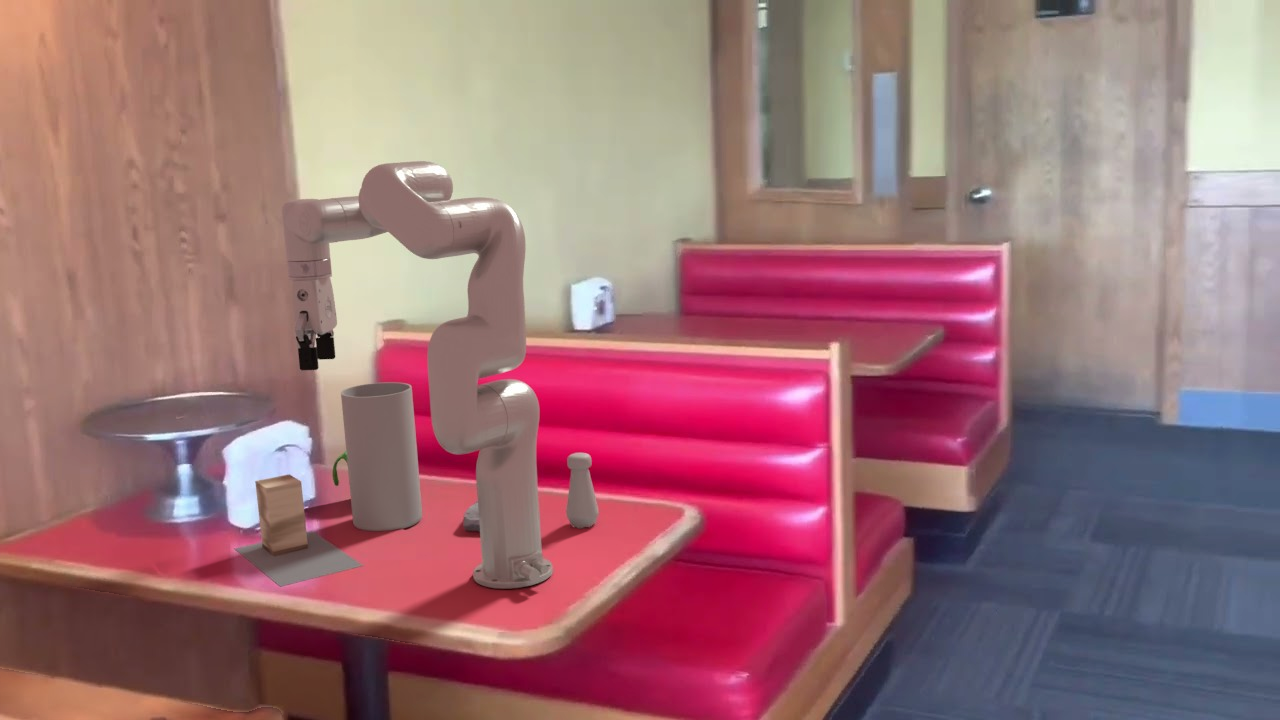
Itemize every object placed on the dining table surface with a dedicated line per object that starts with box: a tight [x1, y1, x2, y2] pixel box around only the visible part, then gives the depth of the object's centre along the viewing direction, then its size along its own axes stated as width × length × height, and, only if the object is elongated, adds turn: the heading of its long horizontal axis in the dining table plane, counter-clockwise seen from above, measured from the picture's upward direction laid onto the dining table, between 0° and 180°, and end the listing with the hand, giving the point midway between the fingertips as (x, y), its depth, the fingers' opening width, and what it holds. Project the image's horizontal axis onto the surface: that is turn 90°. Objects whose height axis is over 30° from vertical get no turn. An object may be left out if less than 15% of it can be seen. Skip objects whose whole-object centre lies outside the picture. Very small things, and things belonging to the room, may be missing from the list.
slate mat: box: [234, 530, 364, 587], centre depth 209 cm, size 24×14×1 cm, turn 35°
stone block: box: [462, 500, 480, 533], centre depth 222 cm, size 12×5×10 cm
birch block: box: [254, 474, 308, 556], centre depth 213 cm, size 6×6×12 cm
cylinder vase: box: [340, 381, 423, 532], centre depth 225 cm, size 12×12×25 cm
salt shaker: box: [565, 452, 600, 529], centre depth 219 cm, size 6×6×13 cm
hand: (318, 364), depth 222 cm, fingers open, 9 cm apart
